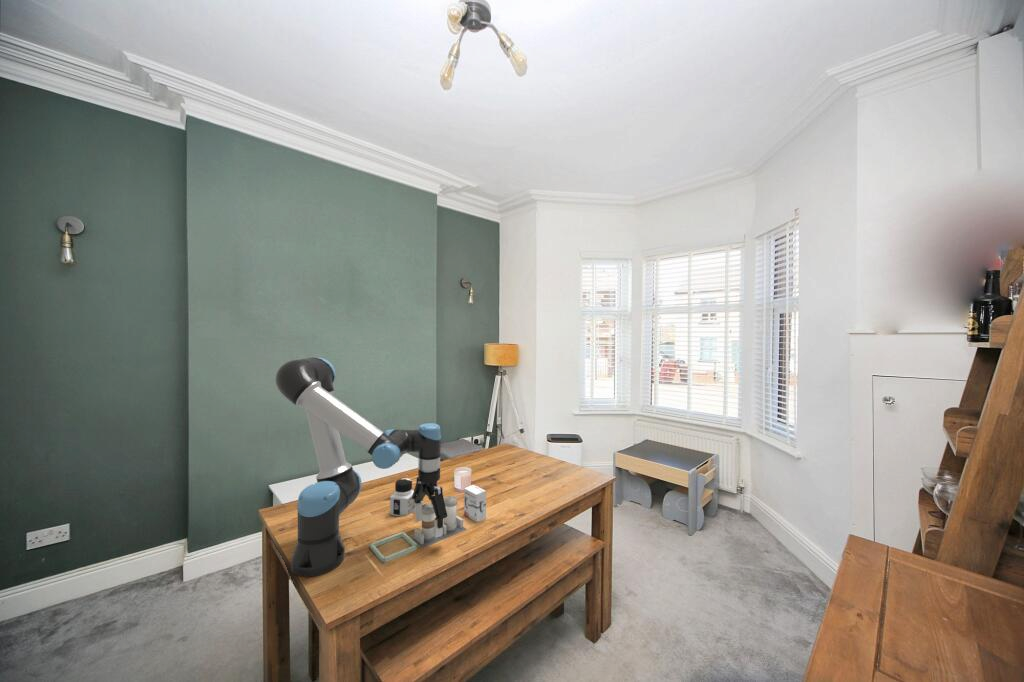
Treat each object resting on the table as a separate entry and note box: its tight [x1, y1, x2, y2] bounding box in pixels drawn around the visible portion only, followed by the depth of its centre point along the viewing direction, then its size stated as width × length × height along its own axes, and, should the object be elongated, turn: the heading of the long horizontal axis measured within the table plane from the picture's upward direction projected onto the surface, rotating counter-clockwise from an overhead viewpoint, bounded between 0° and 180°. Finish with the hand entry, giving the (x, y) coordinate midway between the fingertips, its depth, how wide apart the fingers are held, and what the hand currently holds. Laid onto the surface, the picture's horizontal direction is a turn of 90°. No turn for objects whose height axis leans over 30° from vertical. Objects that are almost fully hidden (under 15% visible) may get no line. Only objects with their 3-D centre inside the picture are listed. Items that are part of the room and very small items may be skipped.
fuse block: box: [410, 515, 468, 548], centre depth 134 cm, size 18×9×4 cm, turn 132°
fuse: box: [443, 495, 458, 532], centre depth 136 cm, size 5×5×11 cm
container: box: [389, 478, 416, 517], centre depth 150 cm, size 8×8×13 cm
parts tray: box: [369, 531, 419, 564], centre depth 124 cm, size 12×11×2 cm
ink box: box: [463, 484, 487, 523], centre depth 146 cm, size 9×5×12 cm, turn 44°
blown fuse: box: [420, 502, 436, 541], centre depth 130 cm, size 5×5×11 cm
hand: (428, 528), depth 130 cm, fingers open, 13 cm apart
